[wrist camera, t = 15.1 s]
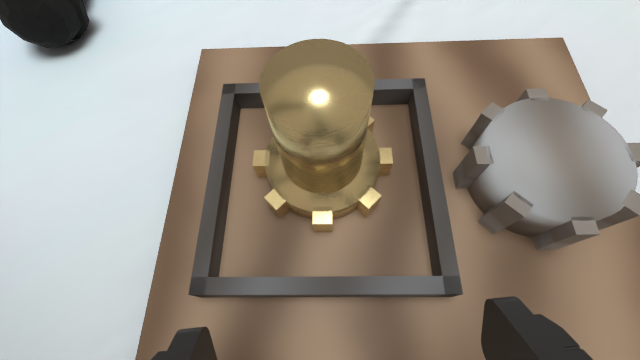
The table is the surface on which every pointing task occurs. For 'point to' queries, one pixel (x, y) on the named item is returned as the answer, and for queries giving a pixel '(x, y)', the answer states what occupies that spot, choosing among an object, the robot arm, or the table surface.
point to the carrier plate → (407, 215)
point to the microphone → (45, 20)
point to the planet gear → (320, 133)
